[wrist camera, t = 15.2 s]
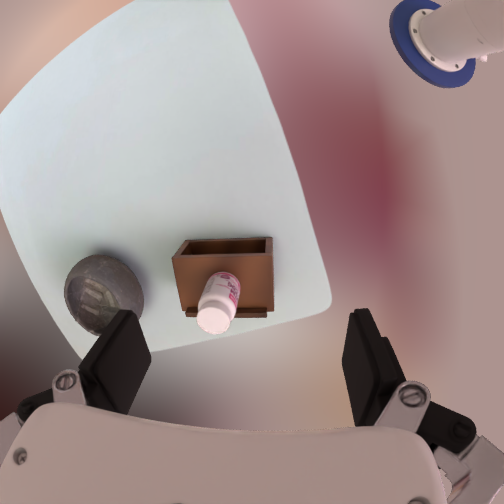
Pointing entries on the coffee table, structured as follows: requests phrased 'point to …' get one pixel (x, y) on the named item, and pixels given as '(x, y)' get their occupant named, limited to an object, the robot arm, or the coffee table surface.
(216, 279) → the pill bottle
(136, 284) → the bowl
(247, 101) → the coffee table surface
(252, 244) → the shelf
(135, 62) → the coffee table surface
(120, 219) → the coffee table surface
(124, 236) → the coffee table surface
